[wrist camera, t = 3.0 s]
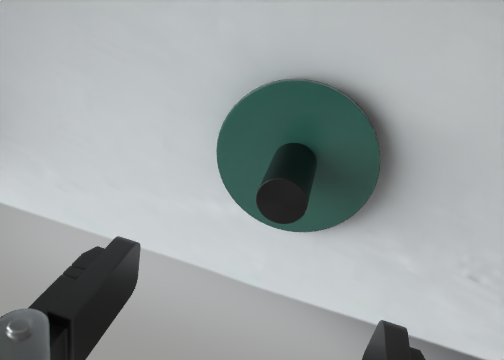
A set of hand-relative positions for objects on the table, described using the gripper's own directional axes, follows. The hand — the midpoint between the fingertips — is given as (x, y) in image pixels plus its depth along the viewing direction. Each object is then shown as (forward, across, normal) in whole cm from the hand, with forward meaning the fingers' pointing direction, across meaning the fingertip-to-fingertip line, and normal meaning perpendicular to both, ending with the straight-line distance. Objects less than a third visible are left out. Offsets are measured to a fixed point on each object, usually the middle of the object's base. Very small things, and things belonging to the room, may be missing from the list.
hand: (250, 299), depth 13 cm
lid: (+11, 0, 0) cm, 11 cm away
